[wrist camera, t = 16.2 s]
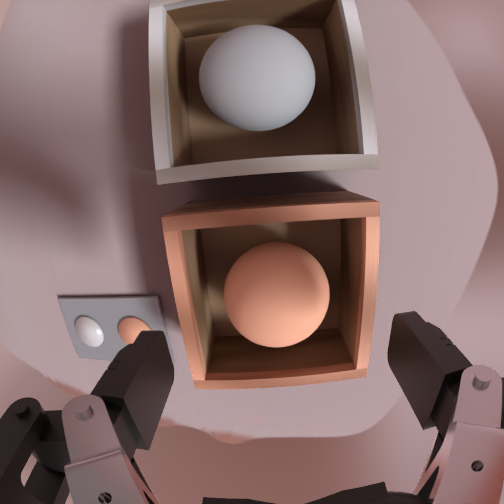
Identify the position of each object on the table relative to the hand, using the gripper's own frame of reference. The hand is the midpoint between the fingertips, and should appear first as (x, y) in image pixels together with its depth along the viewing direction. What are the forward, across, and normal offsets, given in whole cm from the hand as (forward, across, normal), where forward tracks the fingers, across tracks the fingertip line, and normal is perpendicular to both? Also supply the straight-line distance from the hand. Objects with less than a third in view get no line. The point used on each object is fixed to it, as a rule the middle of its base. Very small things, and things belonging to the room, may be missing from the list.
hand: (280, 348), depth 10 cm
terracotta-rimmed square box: (+8, 0, 0) cm, 8 cm away
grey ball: (+5, 0, -10) cm, 11 cm away
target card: (+8, +11, +4) cm, 14 cm away
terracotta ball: (+5, 0, 0) cm, 5 cm away
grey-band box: (+8, 0, -10) cm, 12 cm away
